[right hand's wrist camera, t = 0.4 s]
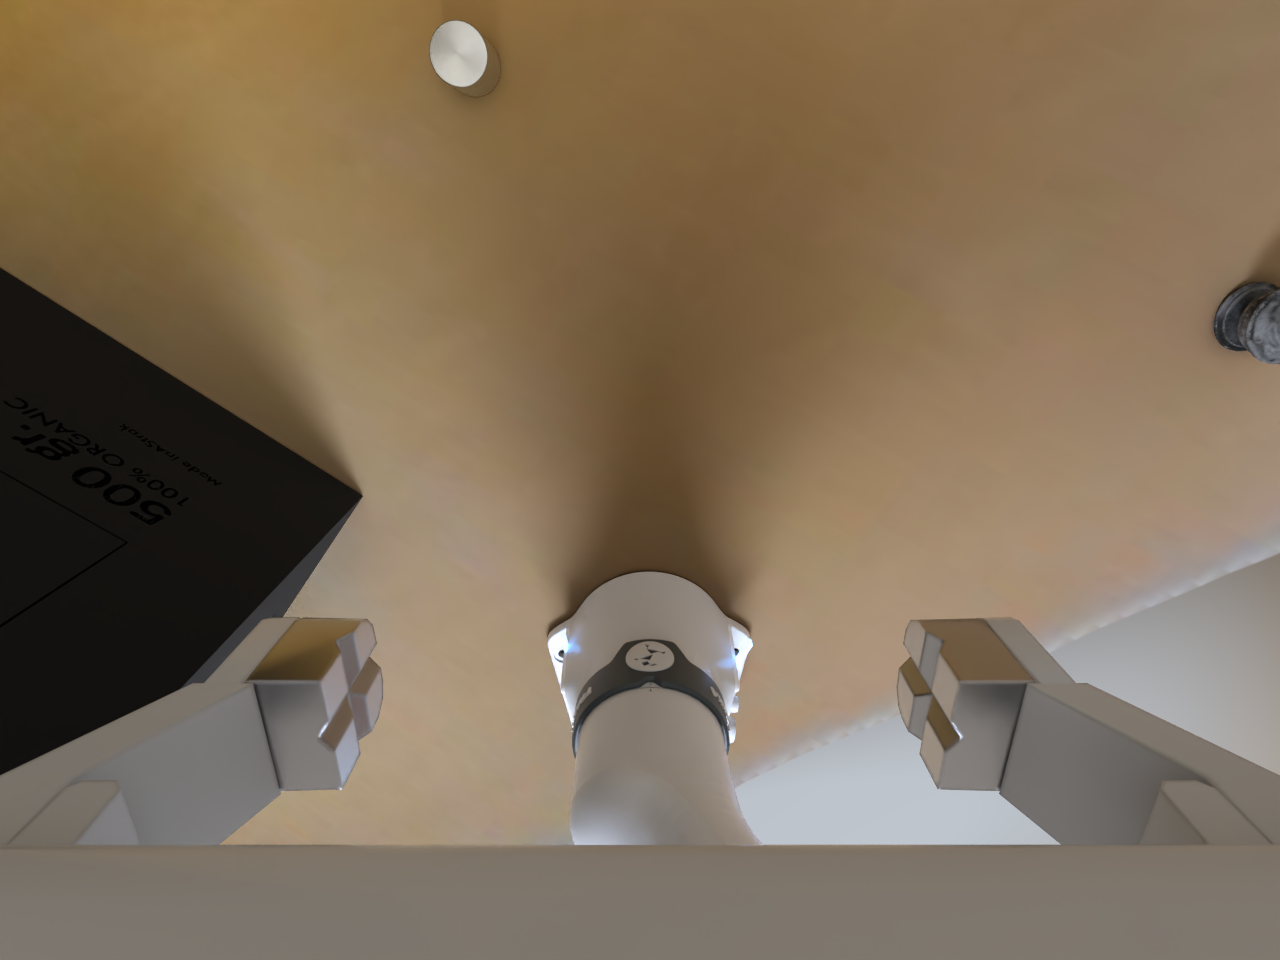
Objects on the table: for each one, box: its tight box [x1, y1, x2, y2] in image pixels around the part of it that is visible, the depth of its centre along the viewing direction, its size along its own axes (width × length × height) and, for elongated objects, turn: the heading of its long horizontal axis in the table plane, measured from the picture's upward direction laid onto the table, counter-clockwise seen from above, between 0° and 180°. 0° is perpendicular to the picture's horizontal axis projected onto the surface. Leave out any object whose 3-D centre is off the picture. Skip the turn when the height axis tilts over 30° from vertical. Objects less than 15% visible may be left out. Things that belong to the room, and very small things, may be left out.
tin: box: [429, 20, 501, 97], centre depth 46 cm, size 4×4×4 cm
